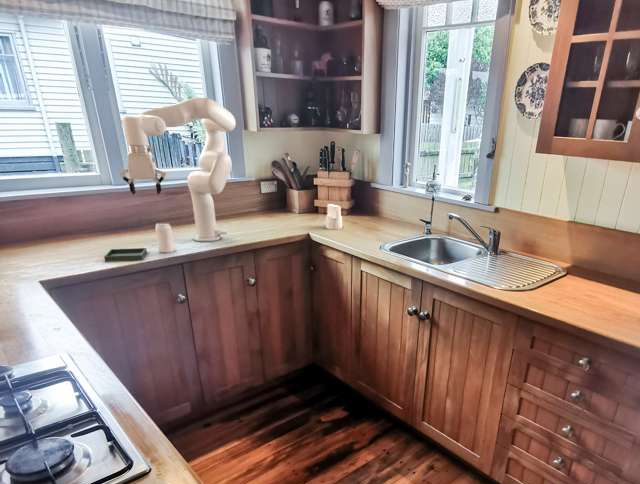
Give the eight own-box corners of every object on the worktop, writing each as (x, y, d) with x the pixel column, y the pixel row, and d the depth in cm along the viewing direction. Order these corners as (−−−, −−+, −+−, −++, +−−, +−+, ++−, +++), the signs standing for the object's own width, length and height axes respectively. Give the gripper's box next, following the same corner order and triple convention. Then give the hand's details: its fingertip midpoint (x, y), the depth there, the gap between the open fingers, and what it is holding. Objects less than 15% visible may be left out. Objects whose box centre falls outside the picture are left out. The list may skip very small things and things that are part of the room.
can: (169, 253, 204) (164, 226, 199) (155, 252, 205) (151, 225, 200) (177, 249, 209) (173, 223, 204) (164, 248, 210) (160, 222, 205)
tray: (146, 252, 204) (146, 248, 203) (142, 259, 194) (141, 255, 193) (111, 254, 200) (110, 249, 199) (105, 261, 191) (104, 256, 190)
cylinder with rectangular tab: (322, 226, 259) (322, 204, 254) (335, 224, 264) (335, 203, 259) (332, 230, 253) (332, 207, 248) (345, 227, 258) (345, 206, 253)
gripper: (163, 149, 191) (170, 191, 199) (117, 148, 188) (126, 192, 195) (159, 150, 185) (167, 194, 192) (112, 150, 181) (121, 195, 189)
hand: (146, 193), depth 194 cm, fingers open, 9 cm apart
